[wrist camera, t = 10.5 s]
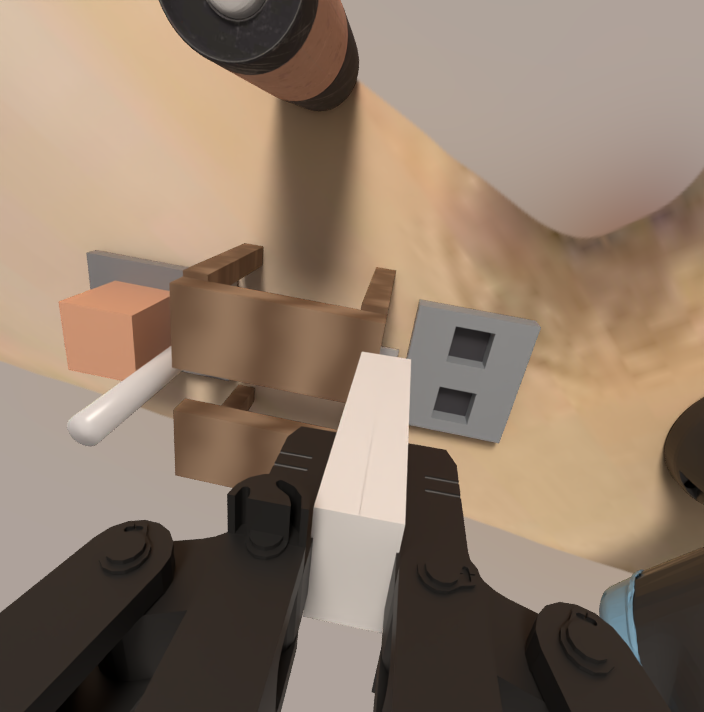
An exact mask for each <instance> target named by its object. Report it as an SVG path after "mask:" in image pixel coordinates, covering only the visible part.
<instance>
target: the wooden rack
mask: <svg viewBox="0 0 704 712" xmlns="http://www.w3.org/2000/svg"><path fill="white" fill-rule="evenodd" d="M262 259H263V246H257V245H252V244H246V243H244V244H242V245H240V246H237V247H235V248H233V249H230V250H228V251H226V252H223V253H221V254H219V255H217V256H214V257H212V258H210V259H207V260H205V261H203V262H200V263H198V264H196V265H194V266H191V267H189V268H187V269H184V270H183V277H181V278H179V279H176V280H174V281H172V282H170V283H169V289H170V321H171V352H172V368H176V369H181V370H185V371H190V372H195V373H200V374H205V375H210V376H215V377H220V378H225V379H230V380H235V381H240V382H245V383H250V384H254V385H259V386H264V387H269V388H274V389H279V390H284V391H289V392H294V393H299V394H304V395H309V396H314V397H319V398H323V399H328V400H333V401H338V402H343V403H346V401H347V398H348V395H349V392H350V388H351V385H352V382H353V379H354V376H355V372H356V369H357V366H358V363H359V359H360V356H361V353H362V352H368V353H374V354H380V355H387V356H393V357H398V352H399V350H398V349H393V348H388V347H383V346H381V343H382V338H383V333H384V328H385V323H386V318H387V313H388V308H389V303H390V298H391V293H392V288H393V282H394V277H395V272H396V271H395V270H389V269H384V268H378V267H376V270H375V272H374V275H373V277H372V280H371V282H370V285H369V287H368V290H367V292H366V295H365V297H364V300H363V302H362V306H361V310H358V309H353V308H348V307H342V306H337V305H332V304H326V303H321V302H316V301H310V300H305V299H300V298H294V297H289V296H284V295H278V294H273V293H268V292H263V291H257V290H252V289H247V288H241V287H236V286H231V285H232V284H233V283H235V282H237V281H238V280H240V279H241V278H243V277H245V276H246V275H248V274H249V273H251V272H253V271H254V270H256V269H257V268H259V267H261V266H262ZM254 390H255V388H253V387H248V386H243V385H238V386H237V387H236V389H235V390H234V391H233V392H232V393H231V395H230V396H229V397H228V398H227V399H226V401H225V402H224V403H223V404H222V406H220V405H215V404H210V403H205V402H200V401H195V400H191V399H186V398H185V399H184V400H183V401H182V402H181V403H180V404H179V405H178V406H177V407H176V408H175V409H174V410H173V414H174V443H175V444H174V445H175V475H177V476H181V477H186V478H190V479H195V480H199V481H204V482H209V483H213V484H218V485H222V486H227V487H232V488H233V487H234V486H235V485H236V484H238V483H239V482H241V481H243V480H245V479H247V478H249V477H252V476H257V475H262V474H269V473H270V471H271V469H272V467H273V466H274V464H275V461H276V459H277V457H278V455H279V454H280V451H281V449H282V447H283V445H284V443H285V441H286V438H287V437H288V436H289V435H290V434H292V433H293V432H294V431H296V430H297V429H298V428H300V427H301V426H304V427H310V428H316V429H321V430H327V431H333V432H337V430H335V429H331V428H326V427H321V426H316V425H311V424H306V423H302V422H297V421H292V420H287V419H282V418H277V417H273V416H268V415H263V414H258V413H253V412H249V411H248V410H249V408H250V407H251V405H252V404H253V402H254Z"/></svg>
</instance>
